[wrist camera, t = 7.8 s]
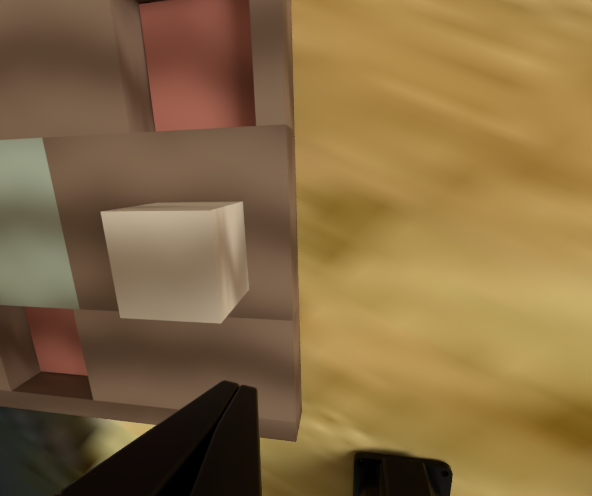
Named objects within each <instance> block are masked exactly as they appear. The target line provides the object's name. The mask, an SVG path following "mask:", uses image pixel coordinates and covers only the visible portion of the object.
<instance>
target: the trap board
mask: <svg viewBox="0 0 592 496" xmlns="http://www.w3.org/2000/svg"><path fill="white" fill-rule="evenodd" d="M235 201H243V212H244V226H245V240H246V254H247V268H248V282H249V290H248V292H247V293H246V294H245V295H244V296H243V298H242V299H241V300H240V301H239V302H238V304H237V305H236V306H235V307H234V308H233V310H232V311H231V312H230V313H229V314H228V316H227V317H226V318H225V319H224V320H223V322H222V323H221V324H219V323H201V322H183V321H165V320H147V319H128V318H120V314H119V308H118V303H117V298H116V292H115V287H114V282H113V276H112V271H111V266H110V260H109V255H108V249H107V244H106V239H105V233H104V228H103V223H102V217H101V211H108V210H114V209H120V208H127V207H133V206H139V205H146V204H152V203H171V202H235ZM223 380H227V381H231V382H235V383H238V384H239V385H248V386H252V387H256V388H257V390H258V412H259V437H261V438H269V439H278V440H286V441H294V442H296V440H297V435H298V429H299V424H300V419H301V413H302V402H301V364H300V326H299V288H298V250H297V212H296V174H295V136H294V98H293V60H292V22H291V0H0V406H3V407H11V408H20V409H28V410H36V411H45V412H53V413H61V414H70V415H78V416H86V417H95V418H103V419H111V420H120V421H128V422H136V423H145V424H153V425H158V424H159V423H160V422H162V421H163V420H165V419H166V418H168V417H169V416H171V415H172V414H174V413H175V412H177V411H178V410H180V409H181V408H182V407H184V406H185V405H187V404H188V403H190V402H191V401H193V400H194V399H196V398H197V397H199V396H200V395H202V394H203V393H205V392H206V391H207V390H209V389H210V388H212V387H213V386H215V385H216V384H218V383H219V382H221V381H223Z"/></svg>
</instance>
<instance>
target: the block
mask: <svg viewBox="0 0 592 496" xmlns="http://www.w3.org/2000/svg"><path fill="white" fill-rule="evenodd" d="M101 217H102V223H103V228H104V233H105V239H106V244H107V249H108V255H109V260H110V266H111V271H112V276H113V282H114V287H115V292H116V298H117V303H118V308H119V314H120V318H128V319H147V320H165V321H183V322H201V323H219V324H221V323H222V322H223V320H224V319H225V318H226V317H227V316H228V314H229V313H230V312H231V311H232V310H233V308H234V307H235V306H236V305H237V304H238V302H239V301H240V300H241V299H242V298H243V296H244V295H245V294H246V293H247V292H248V290H249V282H248V268H247V254H246V240H245V226H244V212H243V201H235V202H171V203H152V204H146V205H139V206H133V207H127V208H120V209H114V210H108V211H101Z"/></svg>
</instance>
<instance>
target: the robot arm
mask: <svg viewBox="0 0 592 496" xmlns="http://www.w3.org/2000/svg"><path fill="white" fill-rule="evenodd" d="M360 460H362V461H360ZM452 475H453V474H452V470H451V468H450V466H449V465H448V464H447V463H444V462H436V461H428V460H420V459H412V458H403V457H395V456H387V455H379V454H370V453H362V452H358V453H356V454H355V455H354V473H353V496H450V491H451V483H452ZM53 496H262V486H261V462H260V437H259V412H258V390H257V388H256V387H252V386H248V385H239V384H238V383H235V382H231V381H227V380H223V381H221V382H219V383H218V384H216V385H215V386H213V387H212V388H210V389H209V390H207V391H206V392H205V393H203V394H202V395H200V396H199V397H197V398H196V399H194V400H193V401H191V402H190V403H188V404H187V405H185V406H184V407H182V408H181V409H180V410H178V411H177V412H175V413H174V414H172V415H171V416H169V417H168V418H166V419H165V420H163V421H162V422H160V423H159V424H158V425H156V426H155V427H153V428H152V429H150V430H149V431H147V432H146V433H144V434H143V435H141V436H140V437H138V438H137V439H136V440H134V441H133V442H131V443H130V444H128V445H127V446H125V447H124V448H122V449H121V450H119V451H118V452H116V453H115V454H113V455H112V456H111V457H109V458H108V459H106V460H105V461H103V462H102V463H100V464H99V465H97V466H96V467H94V468H93V469H91V470H90V471H89V472H87V473H86V474H84V475H83V476H81V477H80V478H78V479H77V480H75V481H74V482H72V483H71V484H69V485H68V486H67V487H65V488H64V489H62V491H61V493H60V494H58V493H56V494H54V495H53Z"/></svg>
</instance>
